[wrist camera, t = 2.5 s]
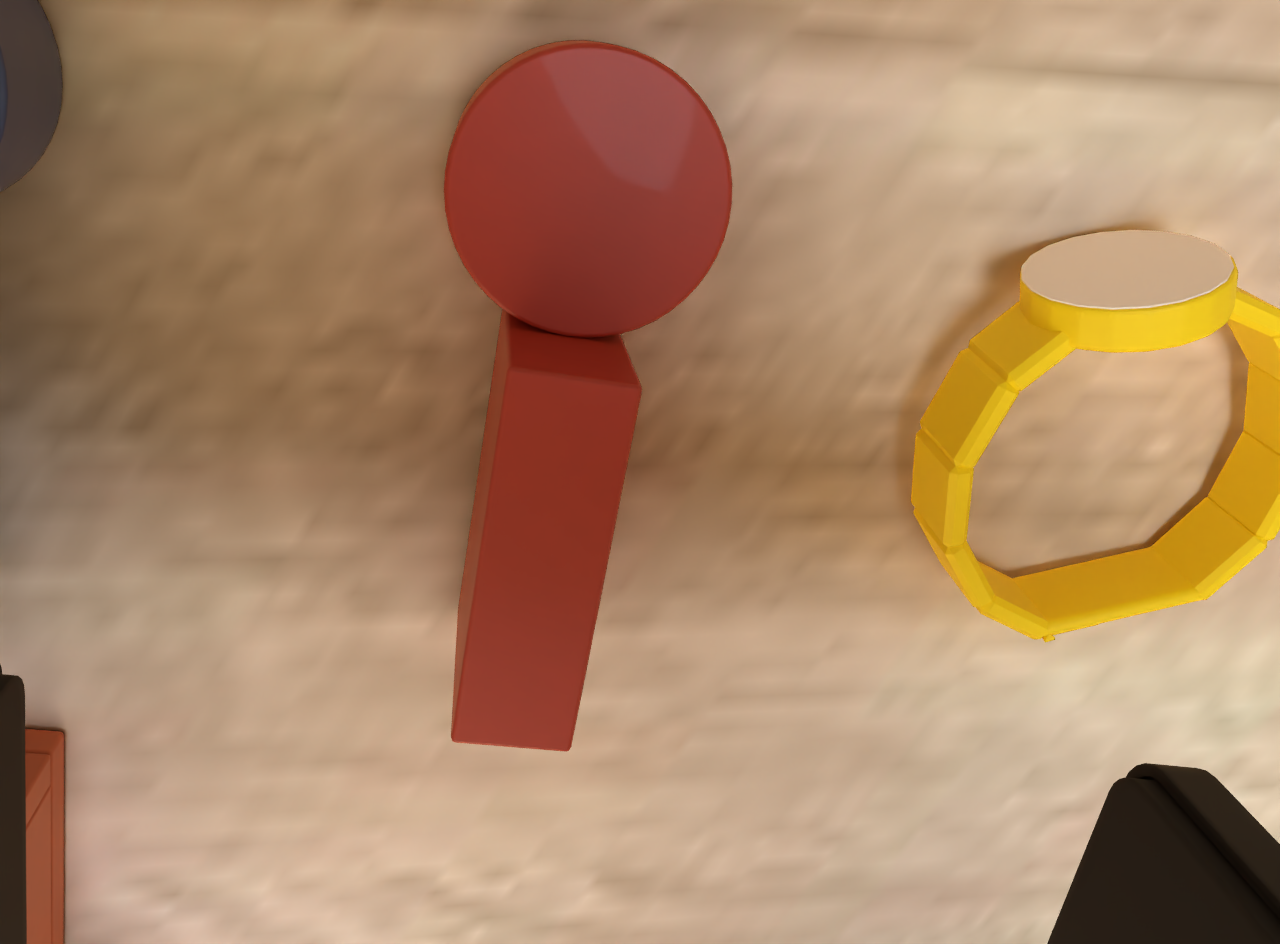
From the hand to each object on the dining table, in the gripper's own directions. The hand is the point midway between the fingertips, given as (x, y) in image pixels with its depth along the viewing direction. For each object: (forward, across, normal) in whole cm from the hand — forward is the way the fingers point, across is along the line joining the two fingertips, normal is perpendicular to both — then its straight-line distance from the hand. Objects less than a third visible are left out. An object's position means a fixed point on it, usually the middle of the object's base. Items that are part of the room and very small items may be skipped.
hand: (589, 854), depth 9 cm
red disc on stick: (+8, 0, -2) cm, 9 cm away
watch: (+8, -10, +1) cm, 12 cm away
